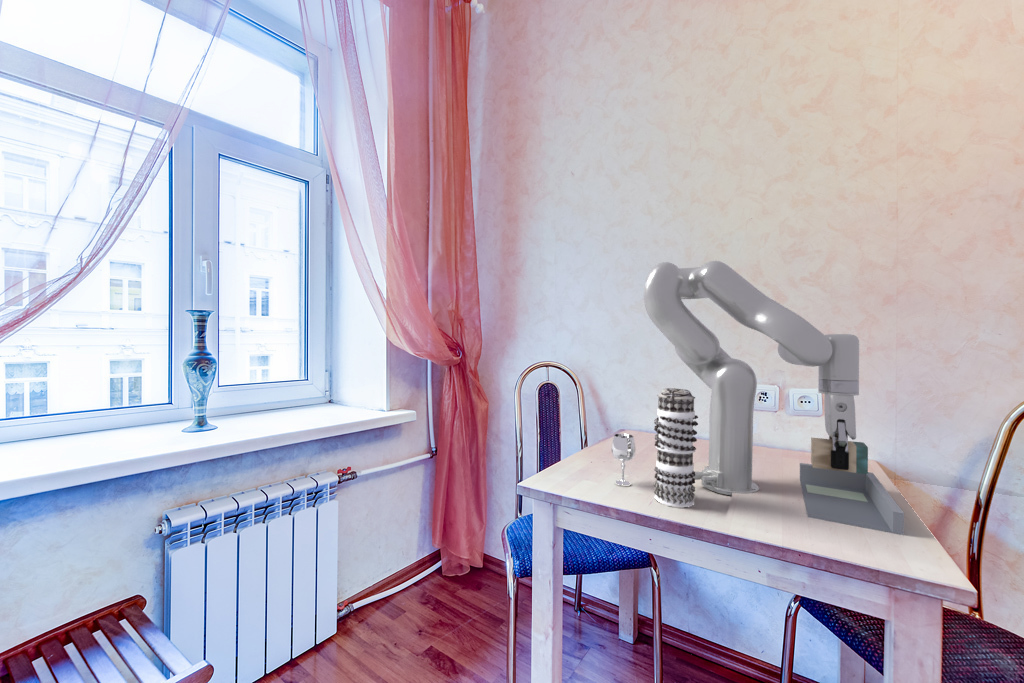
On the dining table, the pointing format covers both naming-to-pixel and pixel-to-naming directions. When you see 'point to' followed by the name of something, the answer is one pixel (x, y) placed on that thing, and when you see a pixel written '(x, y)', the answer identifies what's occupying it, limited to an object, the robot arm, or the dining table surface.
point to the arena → (849, 499)
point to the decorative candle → (675, 448)
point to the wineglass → (623, 451)
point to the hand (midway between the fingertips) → (837, 464)
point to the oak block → (823, 455)
